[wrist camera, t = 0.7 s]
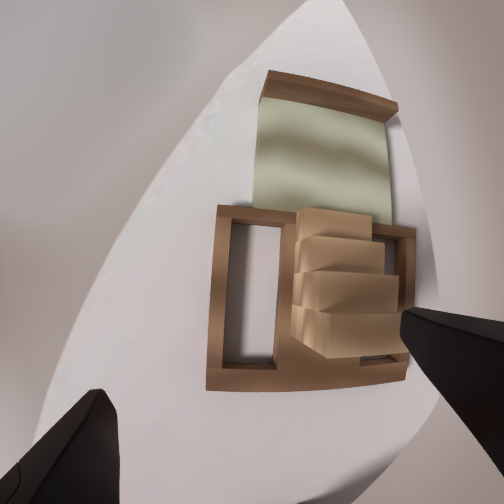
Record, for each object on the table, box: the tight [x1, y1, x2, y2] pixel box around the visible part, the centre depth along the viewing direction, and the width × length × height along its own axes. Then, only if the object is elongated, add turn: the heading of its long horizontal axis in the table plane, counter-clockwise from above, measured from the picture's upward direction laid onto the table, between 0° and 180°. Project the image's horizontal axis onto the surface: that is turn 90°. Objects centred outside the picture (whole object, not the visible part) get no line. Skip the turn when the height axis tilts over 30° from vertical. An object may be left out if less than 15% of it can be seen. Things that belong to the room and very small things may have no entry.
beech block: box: [290, 207, 409, 358], centre depth 20 cm, size 10×6×8 cm, turn 176°
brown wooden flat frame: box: [206, 70, 416, 392], centre depth 24 cm, size 27×19×5 cm
